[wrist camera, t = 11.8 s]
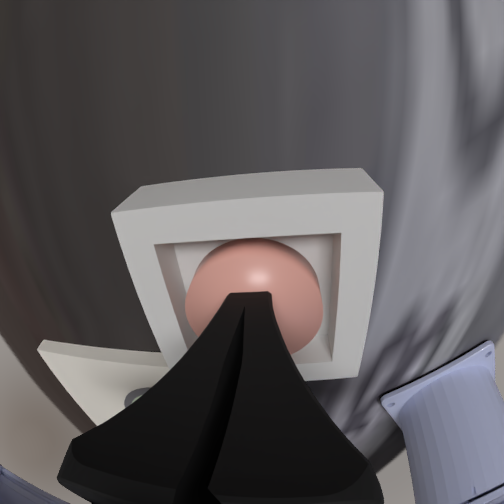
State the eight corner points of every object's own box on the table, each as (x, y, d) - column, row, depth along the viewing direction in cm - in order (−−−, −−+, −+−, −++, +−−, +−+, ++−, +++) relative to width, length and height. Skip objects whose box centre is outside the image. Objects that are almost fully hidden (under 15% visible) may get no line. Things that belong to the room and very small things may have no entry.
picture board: (291, 474, 25) (290, 484, 24) (143, 461, 27) (141, 470, 26) (287, 353, 15) (287, 371, 14) (43, 339, 17) (35, 351, 16)
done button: (317, 336, 12) (320, 358, 11) (206, 339, 12) (200, 360, 11) (320, 233, 10) (325, 252, 9) (180, 242, 10) (170, 261, 9)
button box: (349, 336, 14) (357, 376, 12) (186, 340, 15) (174, 379, 13) (361, 168, 10) (383, 191, 8) (141, 186, 11) (110, 212, 9)
